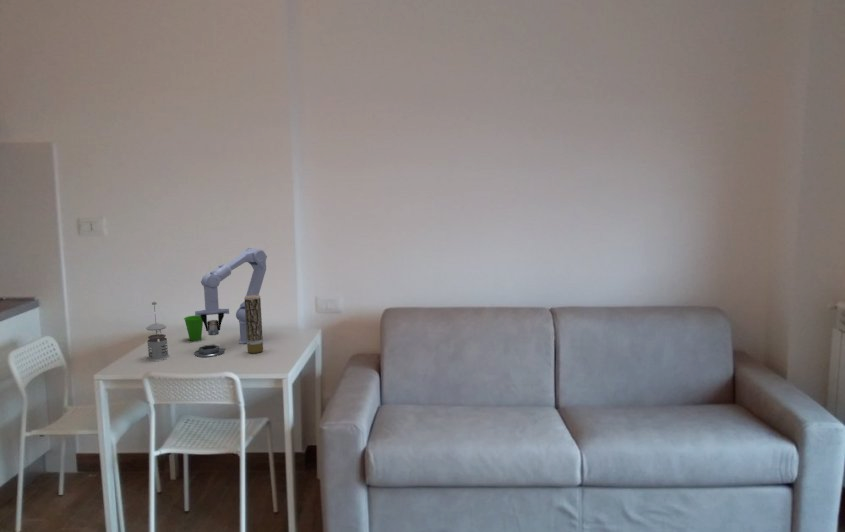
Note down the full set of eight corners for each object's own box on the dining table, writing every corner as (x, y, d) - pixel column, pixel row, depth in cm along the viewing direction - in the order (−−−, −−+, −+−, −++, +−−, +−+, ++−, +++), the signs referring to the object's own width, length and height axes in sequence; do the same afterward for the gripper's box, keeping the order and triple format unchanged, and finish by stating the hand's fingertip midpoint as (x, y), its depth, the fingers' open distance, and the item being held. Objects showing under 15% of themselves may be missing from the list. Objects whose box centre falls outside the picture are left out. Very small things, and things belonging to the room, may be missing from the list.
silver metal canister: (219, 332, 291) (218, 319, 290) (218, 334, 287) (218, 321, 286) (208, 333, 290) (207, 320, 289) (207, 335, 285) (207, 322, 285)
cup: (208, 337, 310) (207, 315, 308) (200, 342, 301) (198, 319, 299) (190, 337, 311) (189, 315, 309) (182, 342, 302) (180, 319, 300)
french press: (144, 362, 272) (140, 304, 268) (148, 354, 283) (144, 299, 279) (169, 360, 274) (165, 303, 270) (172, 352, 285) (168, 297, 281)
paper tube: (259, 354, 281) (256, 298, 277) (244, 353, 282) (241, 298, 279) (265, 349, 288) (262, 295, 284) (251, 349, 289) (248, 295, 285)
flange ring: (225, 348, 291) (225, 342, 291) (223, 356, 279) (223, 350, 278) (196, 350, 289) (195, 344, 288) (192, 358, 276) (191, 352, 276)
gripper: (228, 297, 292) (229, 326, 294) (194, 300, 287) (196, 329, 289) (228, 300, 285) (230, 330, 287) (194, 303, 281) (196, 333, 283)
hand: (213, 330), depth 288 cm, fingers closed on silver metal canister, 5 cm apart
